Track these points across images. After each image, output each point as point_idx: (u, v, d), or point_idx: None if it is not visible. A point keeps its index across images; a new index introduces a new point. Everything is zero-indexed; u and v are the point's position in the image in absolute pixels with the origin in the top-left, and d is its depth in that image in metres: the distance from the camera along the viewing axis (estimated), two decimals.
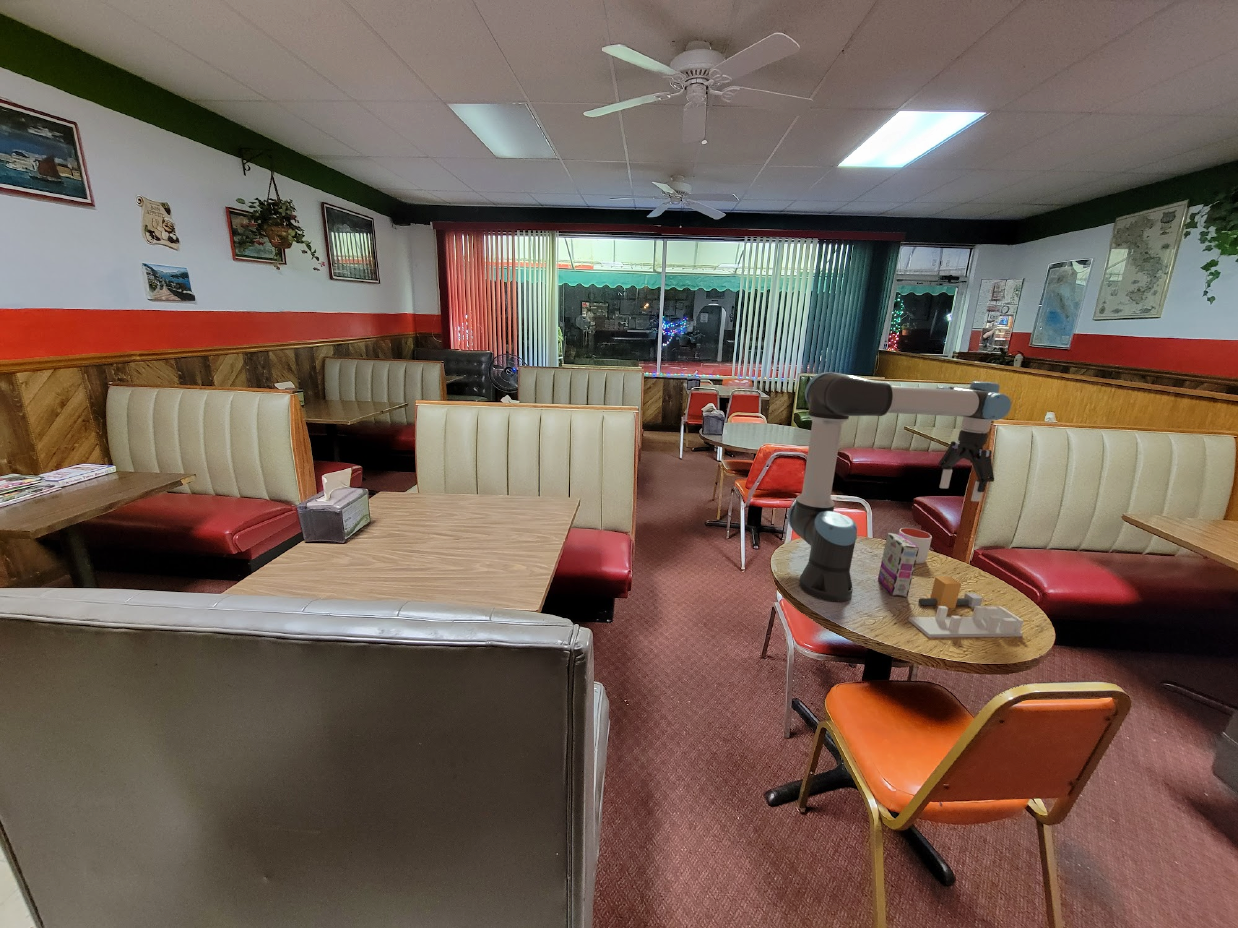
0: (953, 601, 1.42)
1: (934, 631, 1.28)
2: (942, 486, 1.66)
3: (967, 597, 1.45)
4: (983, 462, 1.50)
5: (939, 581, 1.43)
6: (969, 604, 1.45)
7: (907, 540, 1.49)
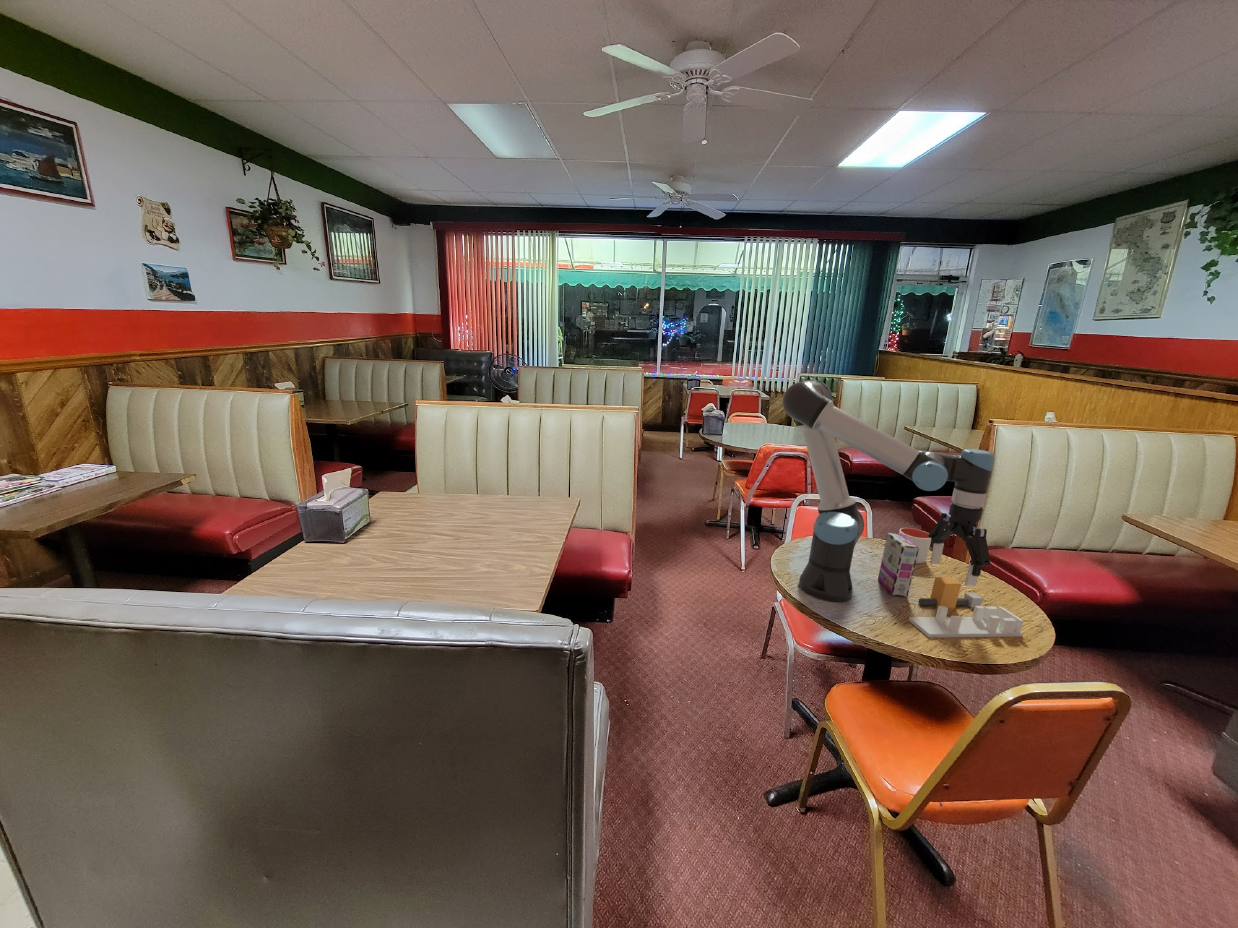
0: (953, 601, 1.42)
1: (934, 631, 1.28)
2: (933, 562, 1.48)
3: (967, 597, 1.45)
4: (977, 543, 1.32)
5: (939, 581, 1.43)
6: (969, 604, 1.45)
7: (907, 540, 1.49)
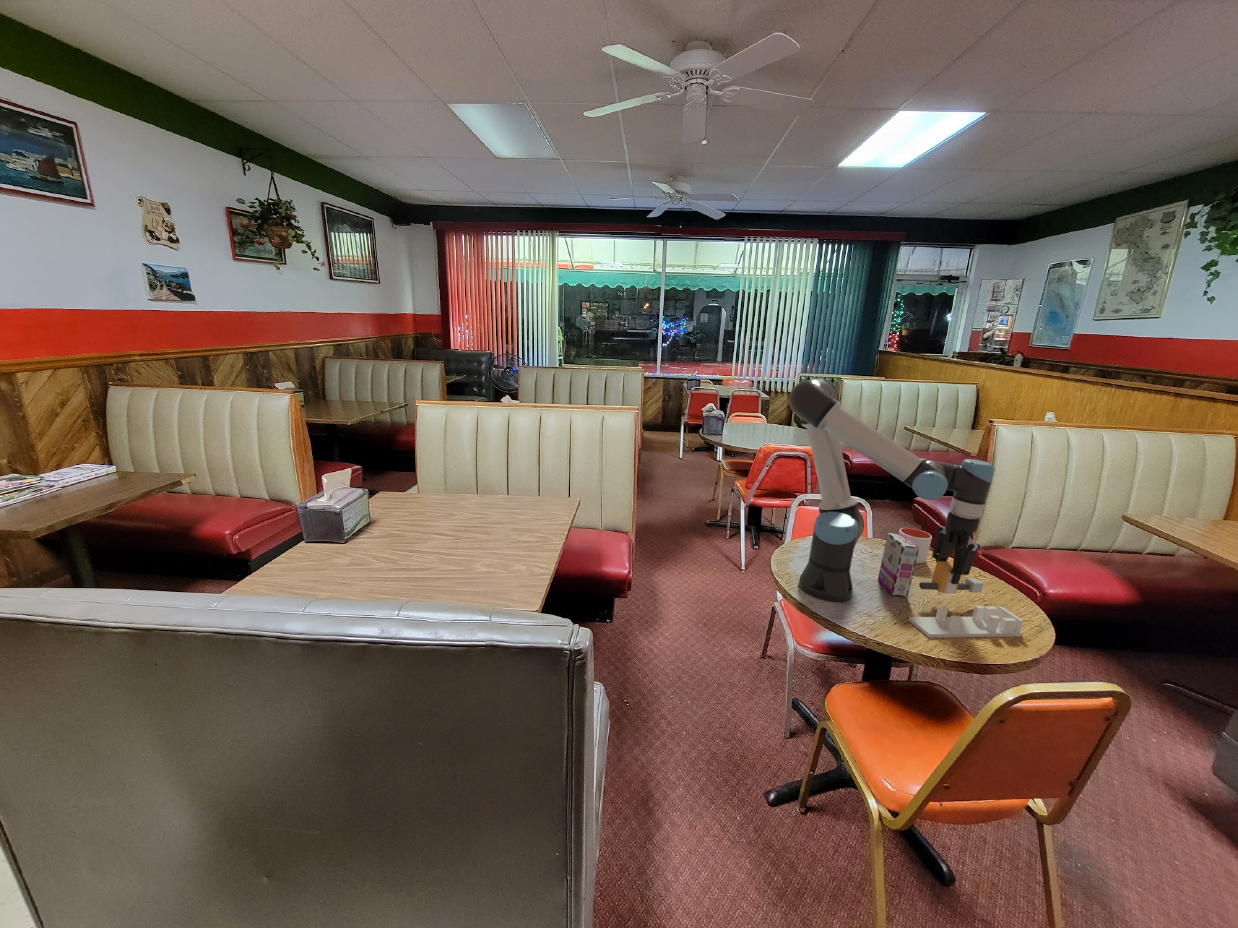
0: None
1: (934, 631, 1.28)
2: None
3: (968, 582, 1.45)
4: (965, 556, 1.35)
5: (941, 565, 1.42)
6: (970, 589, 1.44)
7: (907, 540, 1.49)
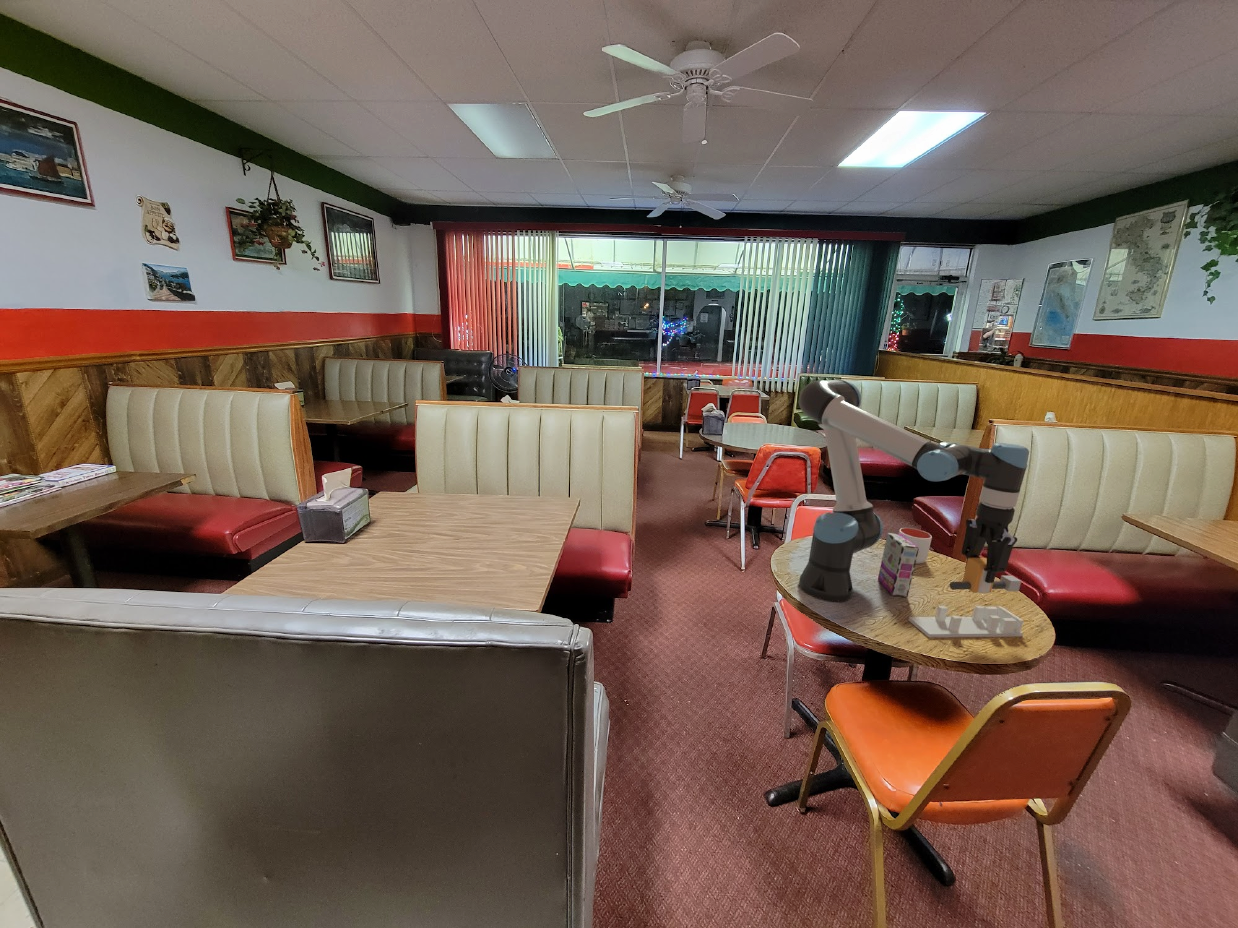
0: None
1: (934, 631, 1.28)
2: None
3: (1004, 580, 1.30)
4: (1001, 550, 1.21)
5: (973, 562, 1.28)
6: (1006, 588, 1.30)
7: (907, 540, 1.49)
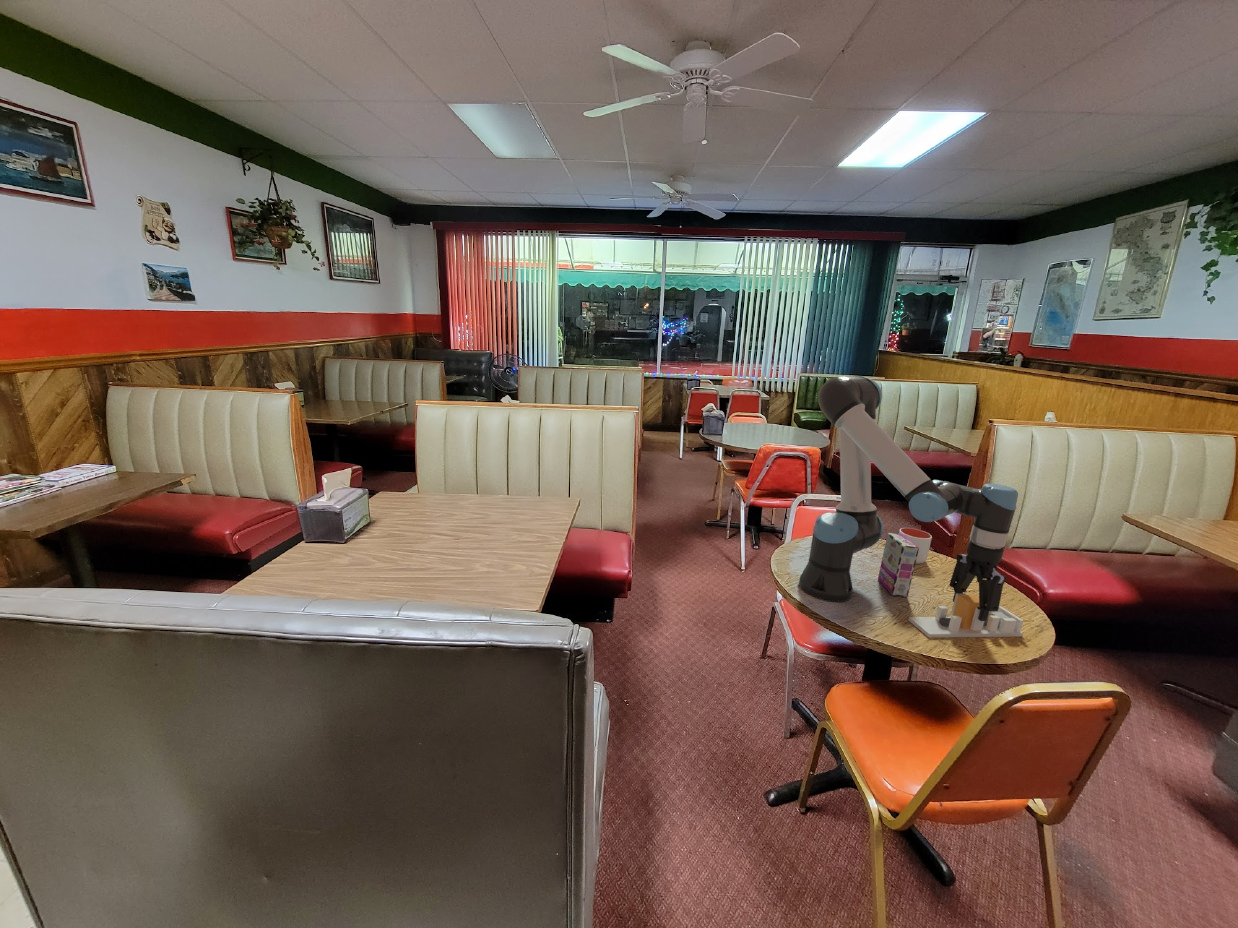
0: None
1: (934, 631, 1.28)
2: None
3: None
4: (992, 589, 1.23)
5: (962, 599, 1.31)
6: None
7: (907, 540, 1.49)
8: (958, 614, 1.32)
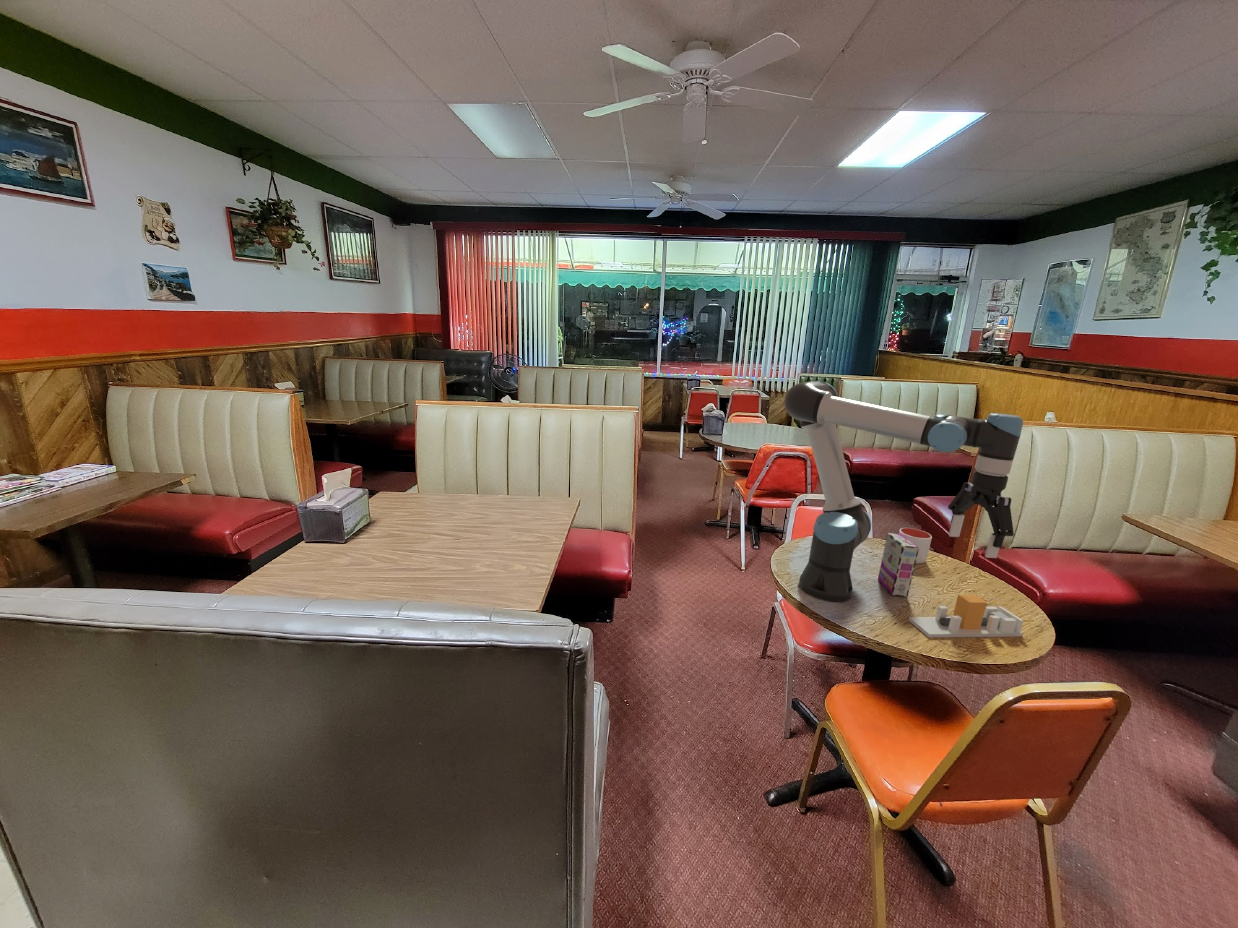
0: (978, 621, 1.30)
1: (934, 631, 1.28)
2: (952, 534, 1.41)
3: None
4: (1000, 512, 1.24)
5: (962, 599, 1.31)
6: None
7: (907, 540, 1.49)
8: (958, 614, 1.32)
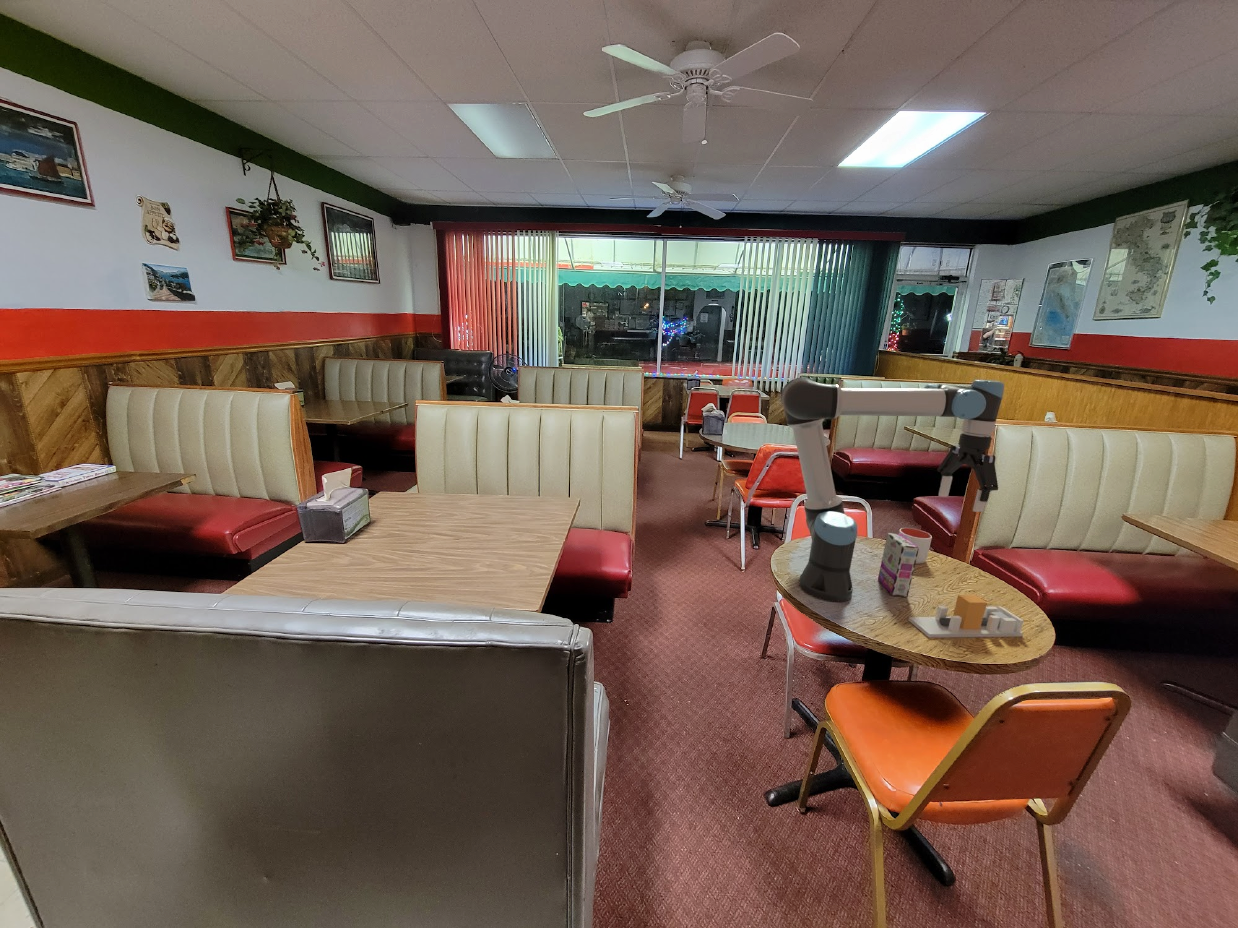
0: (978, 621, 1.30)
1: (934, 631, 1.28)
2: (941, 494, 1.53)
3: None
4: (986, 469, 1.36)
5: (962, 599, 1.31)
6: None
7: (907, 540, 1.49)
8: (958, 614, 1.32)
